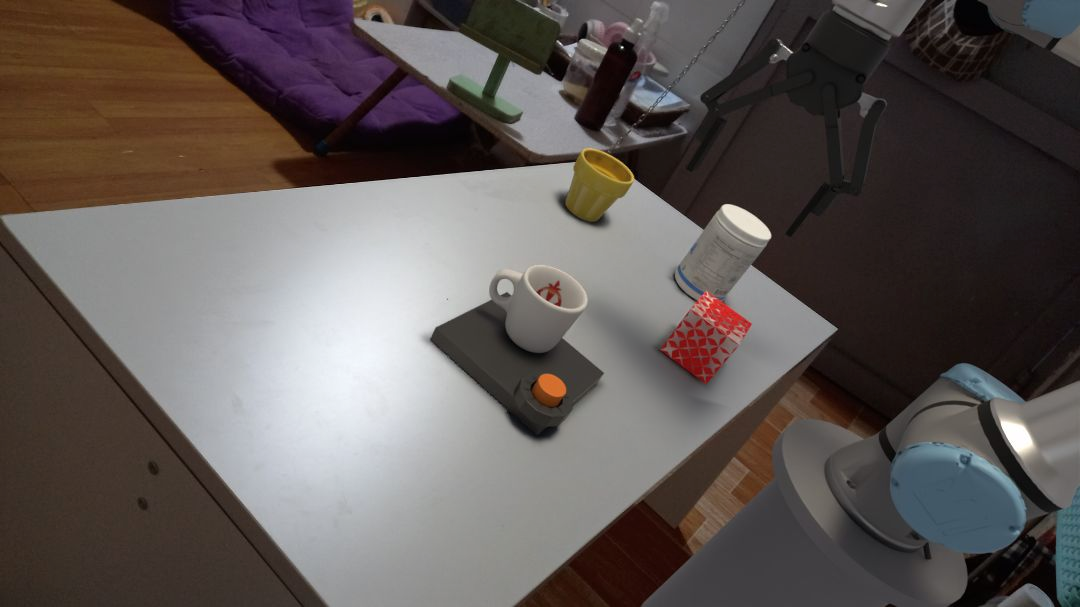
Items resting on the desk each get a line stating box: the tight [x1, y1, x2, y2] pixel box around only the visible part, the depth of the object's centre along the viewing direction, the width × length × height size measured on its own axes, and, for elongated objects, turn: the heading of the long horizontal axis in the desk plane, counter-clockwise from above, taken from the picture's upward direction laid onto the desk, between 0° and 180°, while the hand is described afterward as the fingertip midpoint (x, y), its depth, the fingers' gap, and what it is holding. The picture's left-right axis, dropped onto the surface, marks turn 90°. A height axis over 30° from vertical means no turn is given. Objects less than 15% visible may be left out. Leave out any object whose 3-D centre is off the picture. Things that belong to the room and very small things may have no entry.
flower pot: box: [565, 147, 635, 223], centre depth 112 cm, size 10×10×10 cm
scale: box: [429, 291, 605, 436], centre depth 74 cm, size 17×15×4 cm
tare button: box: [532, 374, 566, 408], centre depth 67 cm, size 3×3×2 cm
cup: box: [488, 264, 589, 353], centre depth 74 cm, size 11×8×8 cm
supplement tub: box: [674, 203, 772, 302], centre depth 107 cm, size 10×10×15 cm
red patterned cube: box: [659, 291, 753, 385], centre depth 91 cm, size 8×8×8 cm
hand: (739, 200), depth 76 cm, fingers open, 13 cm apart
